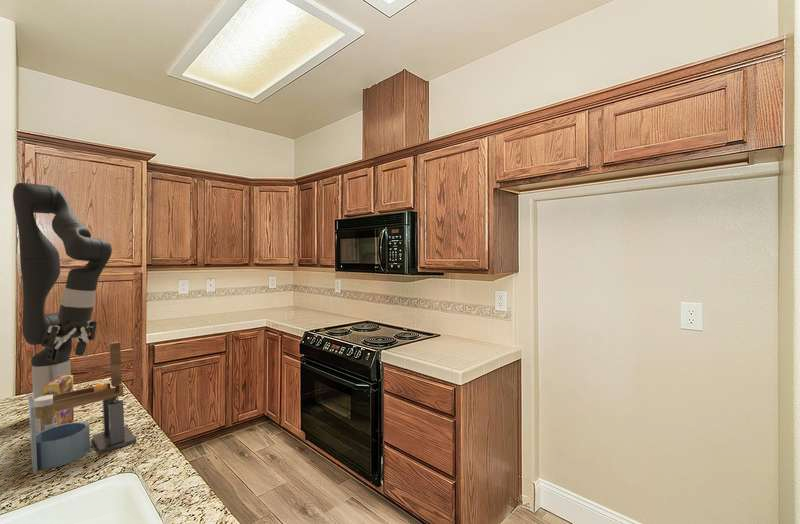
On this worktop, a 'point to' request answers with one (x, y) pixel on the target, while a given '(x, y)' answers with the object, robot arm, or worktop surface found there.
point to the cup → (57, 442)
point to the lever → (88, 394)
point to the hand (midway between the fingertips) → (65, 358)
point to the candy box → (59, 387)
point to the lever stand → (113, 428)
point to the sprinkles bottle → (44, 413)
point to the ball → (100, 387)
